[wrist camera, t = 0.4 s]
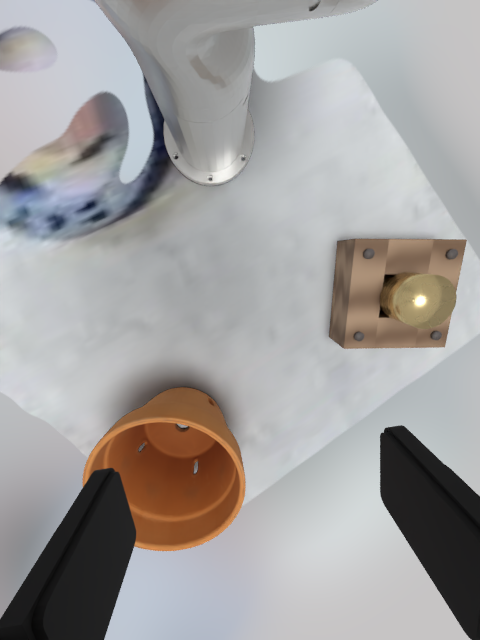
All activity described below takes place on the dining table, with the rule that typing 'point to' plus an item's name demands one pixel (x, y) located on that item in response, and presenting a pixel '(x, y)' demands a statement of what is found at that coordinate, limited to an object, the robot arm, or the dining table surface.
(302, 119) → the dining table surface
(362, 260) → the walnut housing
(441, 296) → the yellow translucent cylinder
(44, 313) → the dining table surface
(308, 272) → the dining table surface
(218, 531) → the flower pot
